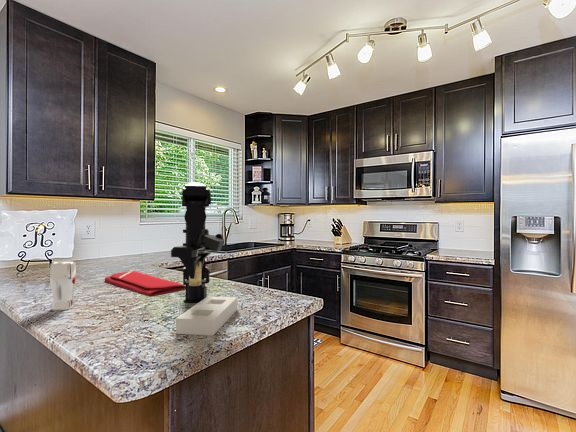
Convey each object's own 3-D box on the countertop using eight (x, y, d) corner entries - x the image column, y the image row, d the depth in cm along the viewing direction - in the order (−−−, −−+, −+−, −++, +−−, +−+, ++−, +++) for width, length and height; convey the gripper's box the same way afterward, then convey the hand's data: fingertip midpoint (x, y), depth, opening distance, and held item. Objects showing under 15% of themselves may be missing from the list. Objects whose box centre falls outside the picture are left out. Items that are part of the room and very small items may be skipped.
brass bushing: (186, 285, 94) (186, 262, 94) (192, 283, 98) (192, 260, 98) (198, 286, 94) (198, 262, 94) (203, 283, 97) (203, 260, 97)
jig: (175, 333, 82) (176, 318, 82) (207, 308, 104) (207, 296, 104) (213, 335, 81) (213, 320, 81) (237, 309, 103) (237, 297, 103)
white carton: (80, 306, 106) (80, 261, 106) (59, 312, 99) (59, 264, 99) (65, 304, 108) (66, 260, 108) (44, 310, 101) (44, 263, 101)
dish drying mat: (149, 298, 119) (150, 288, 119) (103, 282, 144) (103, 274, 144) (186, 290, 131) (186, 281, 131) (137, 277, 156) (137, 270, 156)
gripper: (208, 227, 85) (207, 285, 85) (231, 225, 104) (231, 272, 104) (169, 227, 87) (169, 283, 87) (199, 224, 105) (199, 271, 105)
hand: (195, 277), depth 96 cm, fingers closed on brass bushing, 4 cm apart
